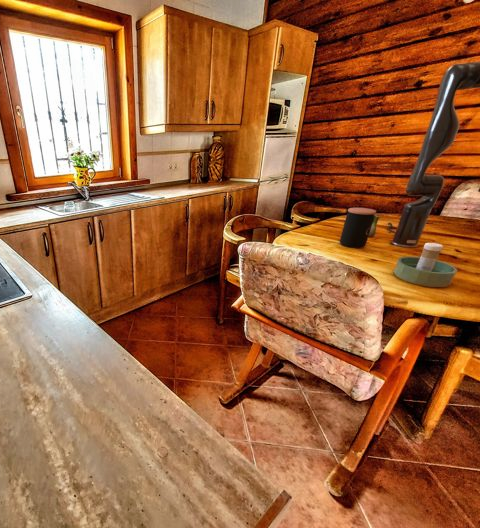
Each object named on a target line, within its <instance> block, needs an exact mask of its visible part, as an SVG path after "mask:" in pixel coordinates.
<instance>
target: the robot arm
mask: <svg viewBox="0 0 480 528" xmlns="http://www.w3.org/2000/svg"><path fill="white" fill-rule="evenodd" d="M470 89H480V61H473V62H462V63H456V64H453V65H450V66H449V67H448V68H447V69H446V71H445V72H444V74H443V75H442V78H441V80H440V83H439V87H438V91H437V95H436V100H435V103H434V108H433V112H432V115H431V119H430V122H429V124H428V127H427V130H426V132H425V135H424V138H423V140H422V144H421V149H420V151H419V154H418V157H417V160H416V163H415V165H414V167H413V170H412V171H411V174H410V176H409V179H408V181H407V184H406V187H405V193H406V195H407V196H409V197H421V198H419V199H417V200H414V201H410V202H406V203H405V204H404V206H403V209H402V212H401V215H400V217H399V221H398V223H397V225H396V229H395V230H392V228H393V224H392V222H388V223H387V225H389V227H386V229H387V231H388V232H391V233H393V234H394V235H393V237H392V240H391V244H392V245H393V246H396V247H400V248H405V249H406V248H407V249H414V248H415V249H416V248H417V247H418V245H419V242H420V239H421V237H422V234H423V232H424V230H425V227H426V225H427V223H428V222H427V221H428V219H429V216H430V214H431V212H432V209H433V208H434V207H435V205H436V202H437V200H438V199H439V196H440V194H441V192H442V190H443V189H444V188H443V187H444V184H445V178H444V176H442V175H440V174H426V172H427V171H428V169H429V167H430V166H431V165H432V163H434V162H435V161H436V159H438V158H439V157H440V156H441V155H442V154H443V153H445V152H446V151H447V150H448V149H449V148H450V147H451V146H452V145H453V144H454V141H455V139H456V137H457V134H458V131H459V129H460V119H459V116H458V114H457V111H456V109H455V97H456V93H457V91H466V90H470ZM477 192H479V193H480V187H479V188H478V191H477Z"/></svg>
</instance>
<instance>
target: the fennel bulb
mask: <svg viewBox="0 0 480 528" xmlns="http://www.w3.org/2000/svg"><path fill="white" fill-rule="evenodd" d="M374 216H375V217H374V221H373V224H372V227H371V230H370V233H369V236H368V238H373V237H374V236H376V232H377V225H378V222H379V219H380V215H378V214H374Z"/></svg>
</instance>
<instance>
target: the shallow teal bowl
mask: <svg viewBox="0 0 480 528" xmlns="http://www.w3.org/2000/svg"><path fill="white" fill-rule="evenodd" d="M420 257H421V256H402V257H399V258H398V259H397V261H396V264H395V266H394V269H393V271H392V273H393V274H394V276H395V277H397V278H399V279H401V280H402V281H404V282H407V283H410V284H413V285H417V286H422V287H428V288H446V287H449V286H451V285H452V283H453V282H454V279H455V277H456V275H457V273H458V269H457V267H455V266H454V265H452V264H450V263H448V262H444V261H441V260H438V259H437V261H436V263H435V266H434V268H433V270H432V272H429V271H424V270H420V269H416V267H417V264H418V262H419V259H420Z"/></svg>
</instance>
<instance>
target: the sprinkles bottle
mask: <svg viewBox="0 0 480 528" xmlns="http://www.w3.org/2000/svg"><path fill="white" fill-rule="evenodd" d="M443 248H444V245H443V244H440V243H436V242H426V243H425V244H424V246H423V250H422V252H421V254H420V256H419V257H420V259H419V262H418V264H417V267H416V269H420V270H424V271H429V272H432V270H433V268H434V266H435V263H436V261H437V260H438V258H439V255H440V253H441V251H442V250H443Z"/></svg>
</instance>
